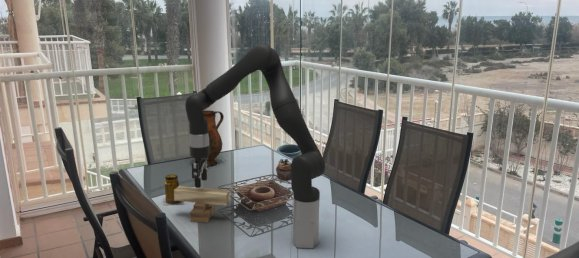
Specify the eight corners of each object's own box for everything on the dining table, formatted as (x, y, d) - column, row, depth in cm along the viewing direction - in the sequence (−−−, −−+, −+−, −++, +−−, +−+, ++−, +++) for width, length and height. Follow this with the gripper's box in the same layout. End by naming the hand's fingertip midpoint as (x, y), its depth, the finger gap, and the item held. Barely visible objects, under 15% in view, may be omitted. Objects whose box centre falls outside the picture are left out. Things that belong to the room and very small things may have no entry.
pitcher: (186, 164, 241) (183, 112, 234) (213, 156, 257) (212, 107, 250) (206, 170, 231) (204, 116, 224) (234, 161, 248) (233, 110, 241)
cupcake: (297, 180, 219) (297, 161, 217) (279, 182, 215) (279, 163, 213) (290, 174, 228) (290, 156, 225) (273, 176, 224) (273, 157, 222)
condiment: (166, 198, 193) (165, 173, 190) (185, 198, 194) (184, 172, 191) (163, 205, 186) (161, 178, 183) (183, 204, 187) (182, 178, 184)
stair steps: (207, 222, 170) (207, 206, 168) (190, 221, 170) (189, 205, 169) (214, 212, 179) (214, 196, 178) (198, 211, 180) (197, 195, 178)
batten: (226, 205, 169) (226, 194, 168) (174, 200, 173) (173, 190, 172) (230, 201, 173) (229, 190, 172) (179, 196, 177) (178, 186, 176)
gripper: (203, 149, 160) (205, 190, 164) (213, 140, 174) (215, 178, 178) (184, 148, 161) (186, 189, 165) (195, 139, 175) (197, 177, 178)
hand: (201, 183), depth 171 cm, fingers open, 8 cm apart
